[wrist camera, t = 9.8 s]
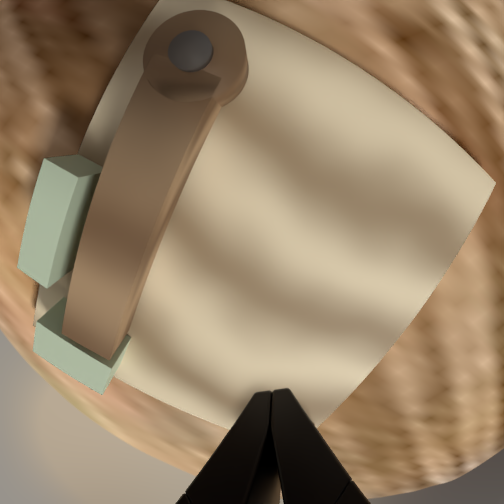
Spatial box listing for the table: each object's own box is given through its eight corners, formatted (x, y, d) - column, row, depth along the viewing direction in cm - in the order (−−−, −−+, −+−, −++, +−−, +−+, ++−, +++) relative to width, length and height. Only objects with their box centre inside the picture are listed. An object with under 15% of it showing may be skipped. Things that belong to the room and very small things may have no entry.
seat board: (177, -9, 13) (155, -44, 9) (484, 180, 15) (528, 191, 12) (41, 317, 19) (10, 347, 15) (291, 439, 22) (294, 481, 18)
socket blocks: (78, 154, 15) (44, 158, 12) (188, 212, 16) (171, 228, 13) (36, 310, 18) (10, 333, 15) (120, 363, 19) (102, 395, 16)
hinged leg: (188, 23, 12) (168, -7, 9) (263, 51, 13) (264, 24, 9) (79, 304, 17) (48, 334, 14) (136, 334, 18) (113, 371, 14)
